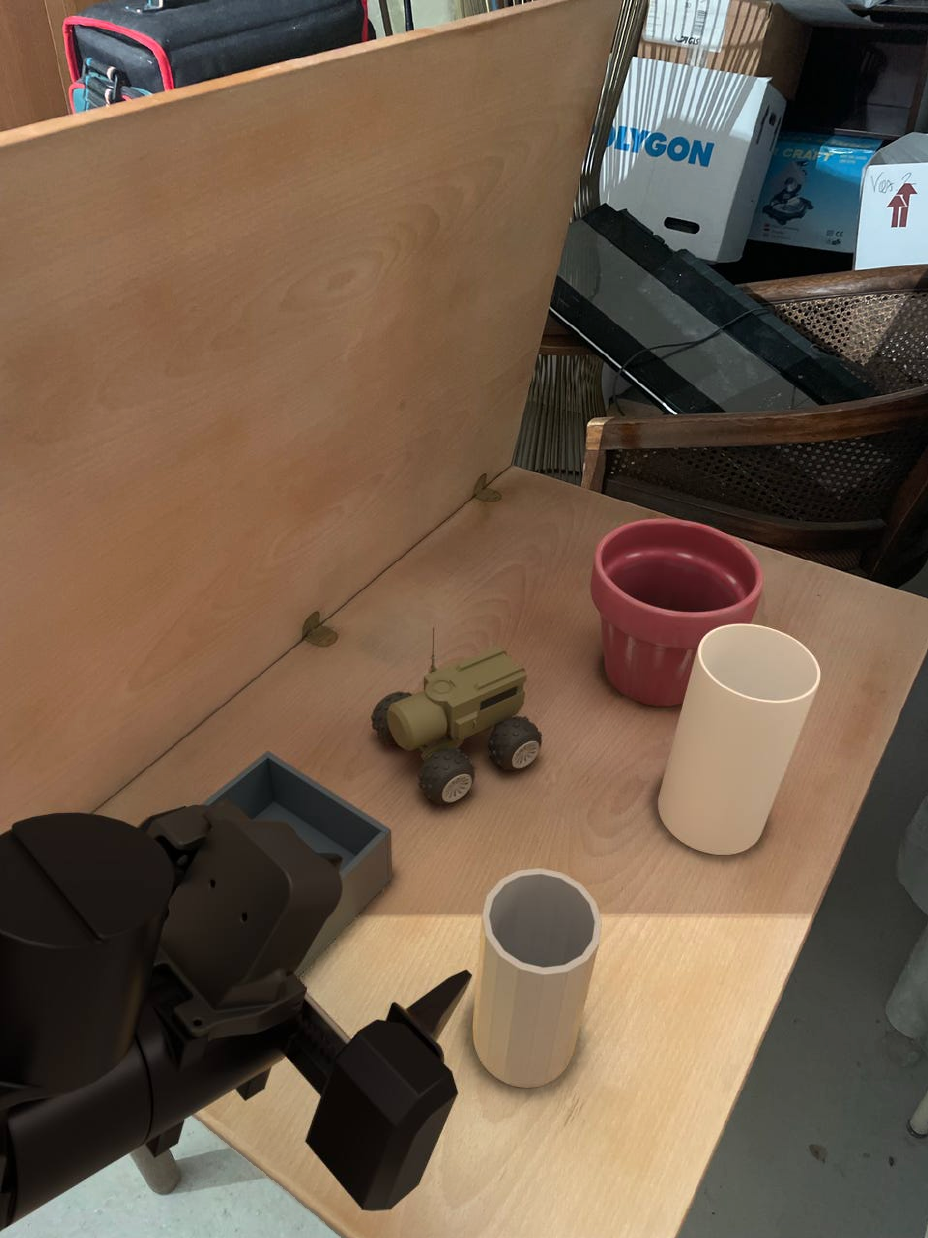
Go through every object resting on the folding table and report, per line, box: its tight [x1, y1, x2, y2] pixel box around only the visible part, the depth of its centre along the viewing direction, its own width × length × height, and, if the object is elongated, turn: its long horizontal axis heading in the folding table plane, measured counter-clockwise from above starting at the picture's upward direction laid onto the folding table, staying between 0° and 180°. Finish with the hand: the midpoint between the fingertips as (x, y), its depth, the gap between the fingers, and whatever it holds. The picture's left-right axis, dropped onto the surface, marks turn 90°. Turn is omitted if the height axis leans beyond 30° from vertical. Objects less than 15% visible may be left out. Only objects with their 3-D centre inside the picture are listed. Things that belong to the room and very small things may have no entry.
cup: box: [657, 623, 821, 856], centre depth 66 cm, size 8×8×16 cm
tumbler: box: [471, 867, 603, 1089], centre depth 53 cm, size 6×6×13 cm
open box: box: [200, 750, 393, 978], centre depth 63 cm, size 12×12×6 cm
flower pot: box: [590, 518, 764, 707], centre depth 80 cm, size 14×14×13 cm
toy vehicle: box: [370, 627, 543, 805], centre depth 72 cm, size 10×11×12 cm
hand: (399, 918), depth 45 cm, fingers open, 9 cm apart
